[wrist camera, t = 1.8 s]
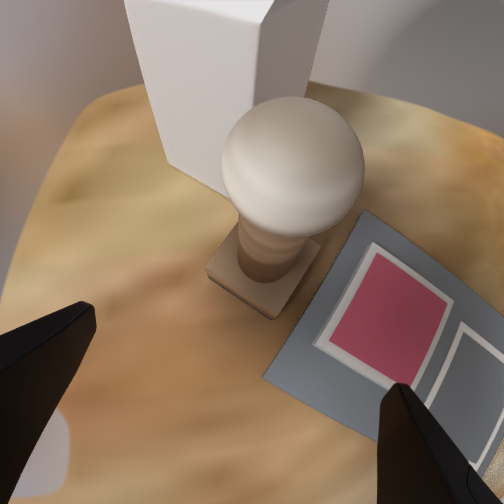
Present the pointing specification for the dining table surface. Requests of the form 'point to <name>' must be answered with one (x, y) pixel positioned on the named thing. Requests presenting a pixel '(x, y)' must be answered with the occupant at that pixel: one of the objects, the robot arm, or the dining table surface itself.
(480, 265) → the dining table surface
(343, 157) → the walnut stamp
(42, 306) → the dining table surface
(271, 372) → the stamping board
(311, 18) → the milk carton
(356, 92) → the dining table surface
